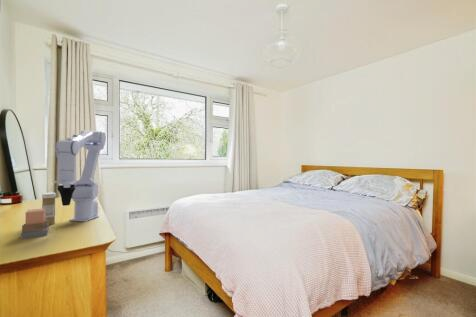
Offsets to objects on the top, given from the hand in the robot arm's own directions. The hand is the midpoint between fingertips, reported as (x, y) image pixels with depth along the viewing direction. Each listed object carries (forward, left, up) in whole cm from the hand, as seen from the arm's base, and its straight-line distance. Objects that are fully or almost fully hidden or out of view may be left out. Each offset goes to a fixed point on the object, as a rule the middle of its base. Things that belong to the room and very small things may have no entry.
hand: (65, 203), depth 91 cm
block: (+7, -6, -6) cm, 11 cm away
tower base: (+7, -6, -11) cm, 14 cm away
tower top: (+7, -5, -8) cm, 12 cm away
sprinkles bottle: (-5, -13, -11) cm, 17 cm away
